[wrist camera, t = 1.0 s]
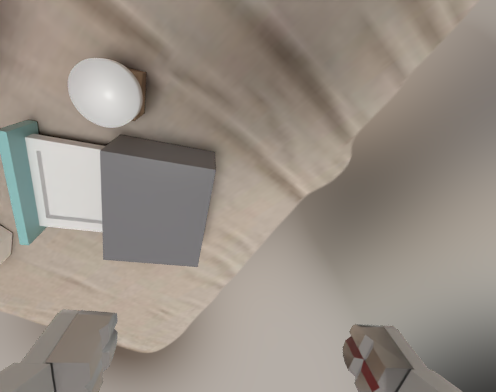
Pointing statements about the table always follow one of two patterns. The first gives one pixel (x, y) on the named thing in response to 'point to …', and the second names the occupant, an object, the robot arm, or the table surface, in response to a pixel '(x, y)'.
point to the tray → (50, 181)
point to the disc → (105, 92)
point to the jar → (5, 243)
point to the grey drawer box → (154, 201)
